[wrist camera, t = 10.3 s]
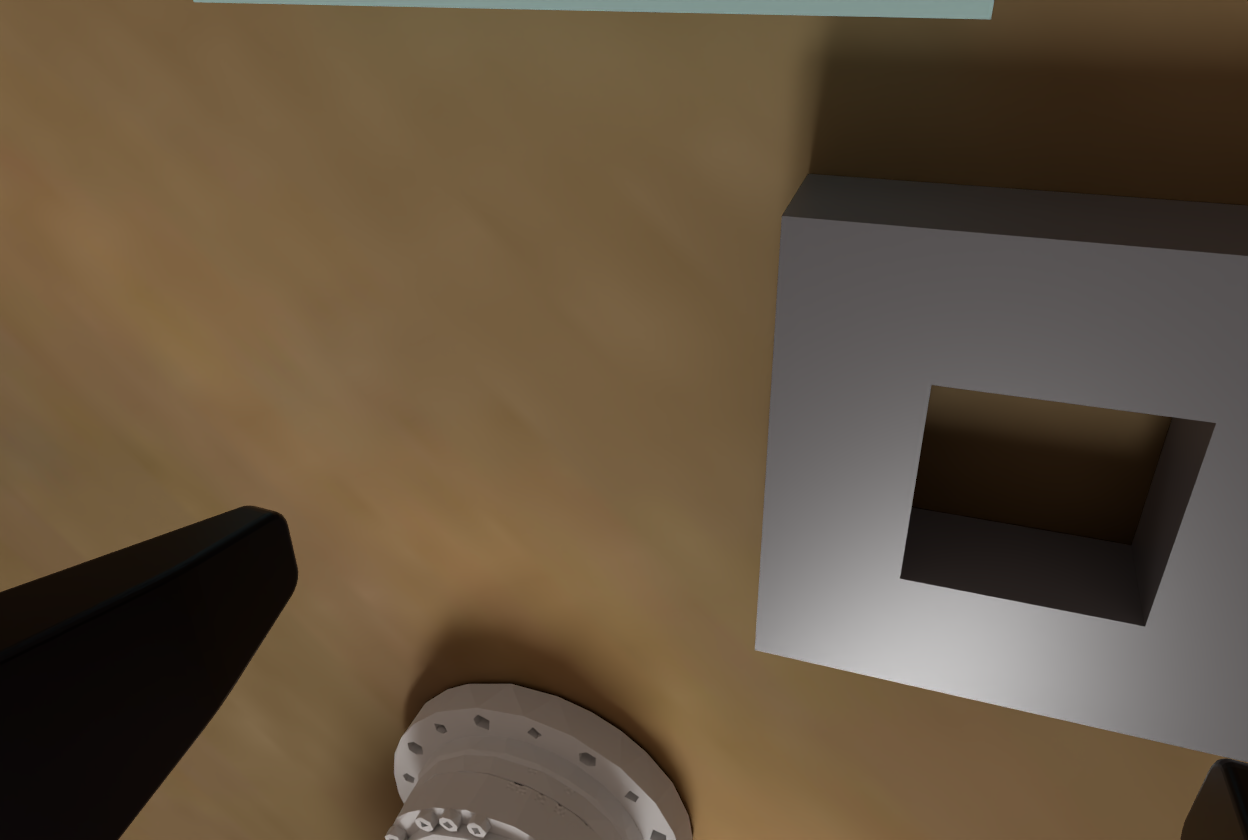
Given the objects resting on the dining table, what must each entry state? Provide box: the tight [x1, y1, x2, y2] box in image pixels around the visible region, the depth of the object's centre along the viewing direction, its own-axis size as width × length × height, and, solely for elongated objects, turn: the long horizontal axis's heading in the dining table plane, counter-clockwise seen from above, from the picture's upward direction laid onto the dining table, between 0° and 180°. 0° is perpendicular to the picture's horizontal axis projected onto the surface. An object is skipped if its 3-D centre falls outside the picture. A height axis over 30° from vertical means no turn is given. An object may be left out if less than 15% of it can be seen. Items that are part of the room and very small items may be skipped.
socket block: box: [755, 174, 1248, 762], centre depth 18 cm, size 10×10×2 cm
